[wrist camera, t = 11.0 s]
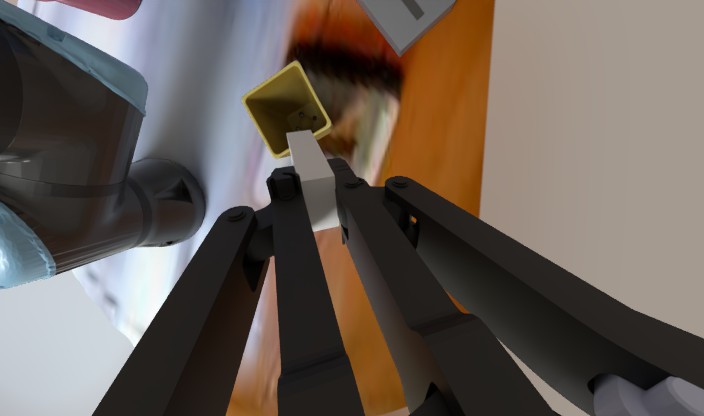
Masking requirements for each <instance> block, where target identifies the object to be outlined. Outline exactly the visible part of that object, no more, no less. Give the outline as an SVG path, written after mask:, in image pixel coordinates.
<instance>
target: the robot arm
mask: <svg viewBox="0 0 704 416" xmlns="http://www.w3.org/2000/svg"><path fill="white" fill-rule="evenodd" d="M147 94H148V85H147V83H146V81H145V79H144V77H143V76H142V75H141V74H140V73H139V72H138V71H136V70H135V69H133V68H132V67H130V66H128V65H127V64H125V63H123V62H121V61H120V60H118V59H116V58H114V57H112V56H111V55H109V54H107V53H105V52H103V51H101V50H99V49H98V48H96V47H94V46H92V45H90V44H88V43H86V42H84V41H82V40H80V39H78V38H77V37H75V36H73V35H71V34H69V33H67V32H64V31H62V30H60V29H58V28H57V27H55V26H53V25H51V24H49V23H47V22H45V21H43V20H41V19H40V18H38V17H36V16H34V15H32V14H30V13H28V12H26V11H24V10H22V9H20V8H18V7H16V6H14V5H12V4H10V3H8V2H6V1H4V0H0V289H6V288H10V287H15V286H18V285H22V284H25V283H29V282H32V281H36V280H39V279H47V278H50V277H52V276H54V275H57V274H60V273H62V272H66V271H68V270H71V269H74V268H77V267H80V266H83V265H85V264H88V263H91V262H94V261H97V260H100V259H102V258H105V257H108V256H111V255H114V254H117V253H119V252H122V251H125V250H128V249H131V248H134V247H166V246H171V245H175V244H177V243H180V242H183V241H185V240H187V239H189V238H190V237H192V236H193V235H194V234H195V233H196V232H197V231H198V229H199V228H200V226H201V224H202V221H203V218H204V213H205V203H204V197H203V193H202V190H201V188H200V186H199V184H198V182H197V181H196V179H195V178H194V177H193V175H192V174H191V173H190V172H189V171H188V170H186V169H185V168H184V167H182V166H181V165H179V164H177V163H175V162H173V161H169V160H164V159H144V160H139V161H136V162H134V163H132V159H133V155H134V151H135V147H136V144H137V140H138V136H139V132H140V128H141V124H142V121H143V117H145V116H146V111H145V105H146V99H147ZM287 138H288V144H289V149H290V154H291V159H292V164H293V166H288V167H282V168H276V169H274V171H273V172H272V173H271V176H270V177H269V178H267V181H266V183H267V187H268V190H269V194H270V198H271V203H270V204H269V205H268V206H266V207H265V208H263V209H260V210H258V211H255V212H254V210H253V209H252V208H251V207H248V206H238V207H233V208H230V209H228V210H226V211H225V212H223V213H222V214H221V215H220V216H219V217H218V219H217V220H216V222H215V223H214V225H213V227H212V228H211V230H210V231H209V233H208V234H207V236H206V237H205V239H204V241H203V242H202V244H201V245H200V247H199V248H198V250H197V252H196V253H195V255H194V256H193V258H192V259H191V261H190V263H189V264H188V266H187V267H186V269H185V270H184V272H183V273H182V275H181V277H180V278H179V280H178V281H177V283H176V284H175V286H174V288H173V289H172V291H171V292H170V294H169V295H168V297H167V299H166V300H165V302H164V303H163V305H162V306H161V308H160V309H159V311H158V313H157V314H156V316H155V317H154V319H153V320H152V322H151V324H150V325H149V327H148V328H147V330H146V331H145V333H144V335H143V336H142V338H141V339H140V341H139V342H138V344H137V346H136V347H135V349H134V350H133V352H132V353H131V355H130V356H129V358H128V360H127V361H126V363H125V364H124V366H123V367H122V369H121V371H120V372H119V374H118V375H117V377H116V379H115V380H114V382H113V383H112V385H111V386H110V388H109V389H108V391H107V392H106V394H105V396H104V397H103V399H102V400H101V402H100V403H99V405H98V407H97V408H96V410H95V411H94V413H93V414H92V416H225V415H226V412H227V408H228V405H229V401H230V398H231V394H232V391H233V388H234V384H235V381H236V377H237V374H238V370H239V367H240V363H241V360H242V356H243V353H244V350H245V346H246V343H247V339H248V336H249V332H250V329H251V325H252V322H253V318H254V315H255V311H256V308H257V305H258V301H259V298H260V294H261V291H262V287H263V284H264V280H265V277H266V273H267V270H268V266H269V263H270V257H272V256H274V257H275V273H276V289H277V306H278V322H279V338H280V354H281V375H280V377H279V379H278V386H277V396H278V416H365V414H364V410H363V406H362V403H361V399H360V395H359V392H358V388H357V385H356V381H355V377H354V374H353V370H352V367H351V363H350V360H349V357H348V355H347V354H346V351H345V348H344V345H343V341H342V338H341V334H340V330H339V326H338V323H337V319H336V315H335V311H334V308H333V304H332V300H331V296H330V293H329V289H328V285H327V282H326V278H325V274H324V270H323V267H322V263H321V259H320V255H319V252H318V248H317V244H316V241H315V237H314V233H313V232H314V231H319V230H323V229H328V228H333V227H337V226H339V220H340V223H341V230H342V242H343V244H345V242H346V244H347V247H348V249H349V252H350V254H351V257H352V259H353V262H354V264H355V267H356V269H357V272H358V274H359V277H360V279H361V282H362V284H363V286H364V289H365V291H366V294H367V296H368V299H369V301H370V304H371V306H372V309H373V311H374V314H375V316H376V319H377V321H378V324H379V326H380V329H381V331H382V334H383V336H384V338H385V341H386V343H387V346H388V348H389V351H390V353H391V356H392V358H393V361H394V363H395V366H396V368H397V371H398V373H399V376H400V379H401V382H402V386H403V392H404V396H405V400H406V404H407V407H408V409H409V412H410V415H409V416H561V415H560V414H558V413H556V412H555V411H553V410H552V409H551V408H550V406H549V405H548V404H547V402H546V401H545V400H544V399H543V397H542V396H541V395H540V393H539V392H538V391H537V390H536V388H535V387H534V386H533V384H532V383H531V382H530V381H529V379H528V378H527V377H526V375H525V374H524V373H523V372H522V370H521V369H520V368H519V366H518V365H517V364H516V363H515V361H514V360H513V359H512V357H511V356H510V355H509V354H508V352H507V351H506V350H505V348H504V347H503V346H502V345H501V343H500V342H499V341H498V339H499V340H500V341H501V342H502V343H503V344H504V345H505V346H506V347H507V348H508V349H509V350H510V351H512V352H513V353H514V354H515V355H516V356H517V357H518V358H519V359H520V360H521V361H522V362H523V363H525V364H526V365H527V366H528V367H529V368H530V369H531V370H532V371H533V372H534V373H536V374H537V375H538V376H539V377H540V378H541V379H542V380H544V381H545V382H546V383H547V384H548V385H549V386H550V387H552V388H553V389H554V390H556V391H557V392H558V393H559V394H561V395H562V396H563V397H565V398H566V399H567V400H569V401H570V402H571V403H573V404H574V405H575V406H577V407H578V408H580V409H581V410H583V411H584V412H586V413H587V414H589V415H590V416H704V339H703V338H701V337H699V336H696V335H693V334H691V333H689V332H686V331H683V330H682V329H679V328H677V327H674V326H672V325H669V324H667V323H664V322H662V321H660V320H657V319H655V318H652V317H650V316H647V315H645V314H642V313H640V312H638V311H635V310H633V309H631V308H629V307H627V306H626V305H624V304H623V303H621V302H619V301H617V300H616V299H614V298H612V297H610V296H609V295H607V294H606V293H604V292H602V291H600V290H599V289H597V288H595V287H593V286H592V285H590V284H589V283H587V282H585V281H583V280H582V279H580V278H578V277H577V276H575V275H573V274H572V273H570V272H568V271H566V270H565V269H563V268H561V267H560V266H558V265H556V264H555V263H553V262H551V261H550V260H548V259H546V258H544V257H543V256H541V255H539V254H538V253H536V252H534V251H533V250H531V249H529V248H528V247H526V246H524V245H522V244H521V243H519V242H517V241H516V240H514V239H512V238H510V237H509V236H507V235H505V234H504V233H502V232H500V231H499V230H497V229H495V228H494V227H492V226H490V225H488V224H487V223H485V222H483V221H482V220H480V219H478V218H477V217H475V216H473V215H472V214H470V213H468V212H466V211H465V210H463V209H461V208H460V207H458V206H456V205H455V204H453V203H451V202H450V201H448V200H446V199H444V198H443V197H441V196H439V195H438V194H436V193H434V192H433V191H431V190H429V189H427V188H426V187H424V186H422V185H421V184H419V183H417V182H416V181H414V180H412V179H410V178H408V177H403V176H395V177H391V178H389V179H387V180H386V181H385V187H372V186H369V184H368V183H367V182H366V181H365V180H364V179H362V178H359V177H356V175H355V174H354V172H353V171H352V169H351V168H350V167H349V166H348V164H347V162H346V161H345V160H343V159H341V158H334V159H328V160H326V158H325V156H324V154H323V153H322V151H321V149H320V147H319V145H318V143H317V141H316V139H315V137H314V135H313V133H312V132H311V130H305V131H298V132H290V133H287ZM412 216H413V217H414V218H415V219H416V220H417V221H416V223H414V222H413V221H412V220H411V218H412ZM442 287H443V288H444V289H445V290H446V291H447V292H448V293H449V294H450V295H451V296H452V297H453V298H455V299H456V300H457V301H458V302H459V303H460V304H461V305H462V306H463V307H464V308H465V309H466V310H467V311H469V312H470V313H471V314H464V313H462V312H461V311H460V310H459V309H458V308H457V307H456V306H455V304H454V303H453V301H452V300H451V299H450V297H449V296H448V294H447V293H446V292H445V290H444V289H443V288H442ZM496 337H497V338H498V339H497V338H496Z"/></svg>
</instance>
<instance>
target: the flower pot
mask: <svg viewBox="0 0 704 416" xmlns="http://www.w3.org/2000/svg"><path fill="white" fill-rule="evenodd" d="M241 100H242V103H243V105H244V107H245V108H246V110H247V112H248V114H249V116H250V117H251V119H252V121H253V122H254V124H255V126H256V128H257V130H258V131H259V133H260V135H261V137H262V138H263V140H264V142H265V144H266V146H267V147H268V149H269V151H270V153H271V154H272V156H273V157H274V158H275V159H278V158H283V157H287V156H291V154H290V149H289V144H288V138H287V133H290V132H298V131H297V130H296V128H297V127H299V128H300V130H299V131H305V130H311V131H313V135H314V137H315V139H316V141H317V140H318V139H320V138H322V137H324V136H325V135H327V134H329V133H331V132H332V131H333V130H334V127H333V124H332V122H331V121H330V119H329V117H328V115H327V113H326V112H325V110H324V108H323V106H322V104H321V102H320V100H319V98H318V97H317V95H316V93H315V91H314V89H313V87H312V85H311V83H310V81H309V79H308V77H307V75H306V74H305V72H304V70H303V68H302V66H301V64H300V63H299V62H298V61H294V62H292V63H291V64H289V65H288V66H286V67H285V68H283V69H282V70H281V71H279V72H278V73H276V74H275V75H273V76H272V77H270V78H269V79H268V80H266V81H265V82H263V83H262V84H260V85H259V86H257V87H256V88H254V89H253V90H251V91H250V92H248V93H247V94H245V95H244V96H243V97H242V98H241ZM300 113H303V116H300ZM314 117H317V119H316V120H314V119H313V118H314Z"/></svg>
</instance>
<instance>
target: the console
mask: <svg viewBox="0 0 704 416" xmlns="http://www.w3.org/2000/svg"><path fill="white" fill-rule="evenodd" d="M356 1H357V2H358V4H359V5H360V6H361V8H362V9H363V10H364V11H365V13H366V14H367V15H368V17H369V18H370V19H371V21H372V22H373V23H374V24H375V26H376V27H377V28H378V30H379V31H380V32H381V34H382V35H383V36H384V37H385V39H386V40H387V41H388V43H389V44H390V45H391V47H392V48H393V49H394V50H395V52H396V53H397V54H398V56H399V57H400V56H401V55H403V54H404V53H405V52H406V51H407V50H408V49H409V48H410V47H411V46H412V45H414V44H415V43H416V42H417V41H418V40H419V39H420V38H421V37H422V36H423V35H425V34H426V33H427V32H428V31H429V30H430V29H431V28H432V27H433V26H434V25H436V24H437V23H438V22H439V21H440V20H441V19H442V18H443V17H444V16H445V15H447V14H448V13H449V12H450V11H451V10H452V8H453V6H454V3H455V1H456V0H356Z"/></svg>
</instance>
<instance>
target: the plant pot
mask: <svg viewBox="0 0 704 416" xmlns="http://www.w3.org/2000/svg"><path fill="white" fill-rule="evenodd" d="M38 1H46V2H47V1H57V2H60V3H63V4H66V5H69V6H72V7H75V8H78V9H82V10H85V11H88V12H91V13H94V14H98V15H101V16H104V17H107V18H110V19H113V20H124V19H127V18H129V17H130V16H132V15H133V14H134V13H135V12H136V10H137V9H138V7H139V5H140V2H141V0H38Z"/></svg>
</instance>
